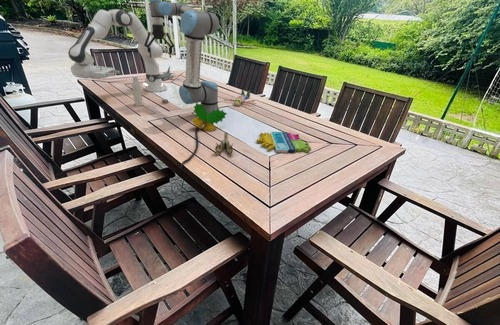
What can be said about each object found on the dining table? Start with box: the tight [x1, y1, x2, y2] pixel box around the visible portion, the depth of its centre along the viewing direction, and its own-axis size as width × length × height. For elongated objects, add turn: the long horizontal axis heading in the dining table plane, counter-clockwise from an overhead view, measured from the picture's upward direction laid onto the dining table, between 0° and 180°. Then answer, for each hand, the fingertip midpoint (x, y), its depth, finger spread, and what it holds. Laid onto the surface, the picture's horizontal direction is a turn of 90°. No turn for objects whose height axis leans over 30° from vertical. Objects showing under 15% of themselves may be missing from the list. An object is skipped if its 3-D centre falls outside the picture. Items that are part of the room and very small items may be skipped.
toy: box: [223, 89, 257, 106], centre depth 219 cm, size 28×7×30 cm
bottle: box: [131, 75, 144, 107], centre depth 192 cm, size 6×6×20 cm
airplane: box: [160, 65, 176, 81], centre depth 271 cm, size 38×32×10 cm
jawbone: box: [214, 131, 234, 156], centre depth 136 cm, size 9×15×10 cm
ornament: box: [191, 102, 228, 132], centre depth 162 cm, size 21×8×15 cm, turn 105°
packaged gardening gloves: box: [256, 131, 312, 154], centre depth 152 cm, size 26×2×30 cm
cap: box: [161, 98, 169, 104], centre depth 205 cm, size 4×4×2 cm
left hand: (116, 73), depth 186 cm, fingers open, 8 cm apart
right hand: (160, 57), depth 189 cm, fingers open, 13 cm apart
